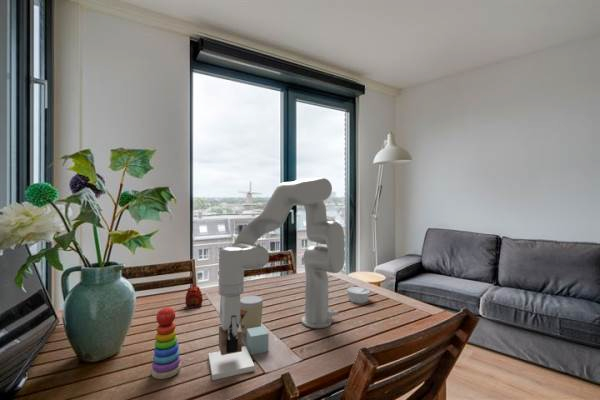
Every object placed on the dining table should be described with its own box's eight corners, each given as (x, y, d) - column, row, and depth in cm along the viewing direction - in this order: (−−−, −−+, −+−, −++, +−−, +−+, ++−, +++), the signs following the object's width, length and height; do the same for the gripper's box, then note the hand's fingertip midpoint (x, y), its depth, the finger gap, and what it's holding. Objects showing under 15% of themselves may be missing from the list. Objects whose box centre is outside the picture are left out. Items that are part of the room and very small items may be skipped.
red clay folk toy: (184, 309, 130) (185, 276, 130) (185, 304, 137) (186, 272, 137) (202, 307, 132) (202, 275, 132) (202, 302, 139) (203, 271, 139)
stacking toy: (185, 363, 88) (185, 303, 88) (174, 380, 80) (175, 313, 80) (159, 364, 88) (159, 303, 87) (146, 380, 80) (146, 314, 80)
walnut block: (237, 342, 92) (238, 323, 92) (241, 351, 86) (242, 331, 86) (218, 345, 89) (219, 326, 89) (221, 355, 84) (221, 335, 84)
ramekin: (371, 304, 139) (372, 294, 139) (348, 304, 139) (349, 293, 139) (366, 296, 150) (367, 286, 150) (345, 296, 150) (345, 286, 150)
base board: (245, 350, 96) (245, 346, 96) (254, 370, 85) (254, 365, 85) (208, 357, 91) (208, 353, 91) (212, 380, 80) (212, 374, 80)
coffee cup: (236, 326, 114) (237, 296, 113) (259, 323, 117) (260, 294, 117) (240, 337, 105) (240, 305, 105) (265, 333, 108) (265, 302, 108)
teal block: (263, 342, 101) (263, 325, 101) (268, 351, 96) (268, 333, 96) (246, 346, 99) (246, 328, 99) (250, 354, 94) (250, 336, 94)
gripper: (215, 281, 94) (214, 335, 94) (222, 298, 78) (221, 363, 78) (238, 279, 97) (237, 332, 97) (249, 295, 81) (248, 358, 81)
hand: (230, 345), depth 88 cm, fingers closed on walnut block, 5 cm apart
